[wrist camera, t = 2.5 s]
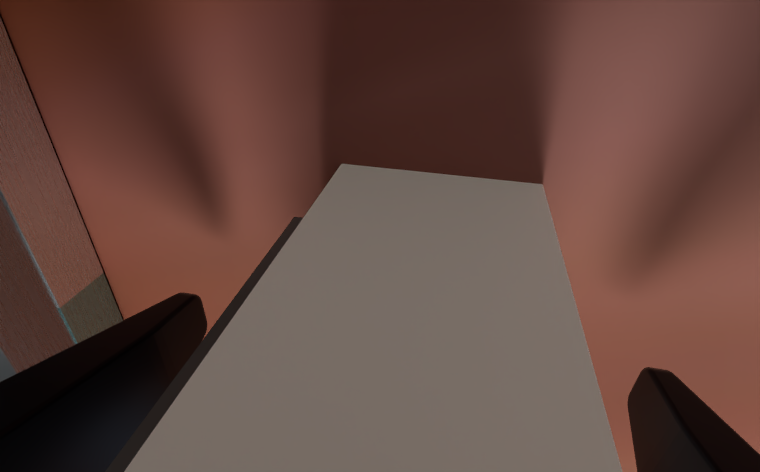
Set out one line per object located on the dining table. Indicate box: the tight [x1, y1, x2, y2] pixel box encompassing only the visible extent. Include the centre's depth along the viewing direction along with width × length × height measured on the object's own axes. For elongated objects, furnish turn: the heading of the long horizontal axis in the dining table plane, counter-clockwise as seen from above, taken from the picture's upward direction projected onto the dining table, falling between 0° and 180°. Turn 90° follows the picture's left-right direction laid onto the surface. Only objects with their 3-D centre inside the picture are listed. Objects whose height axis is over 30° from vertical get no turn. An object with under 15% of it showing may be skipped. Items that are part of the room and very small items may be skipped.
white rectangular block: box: [105, 164, 622, 472], centre depth 7 cm, size 6×4×8 cm
